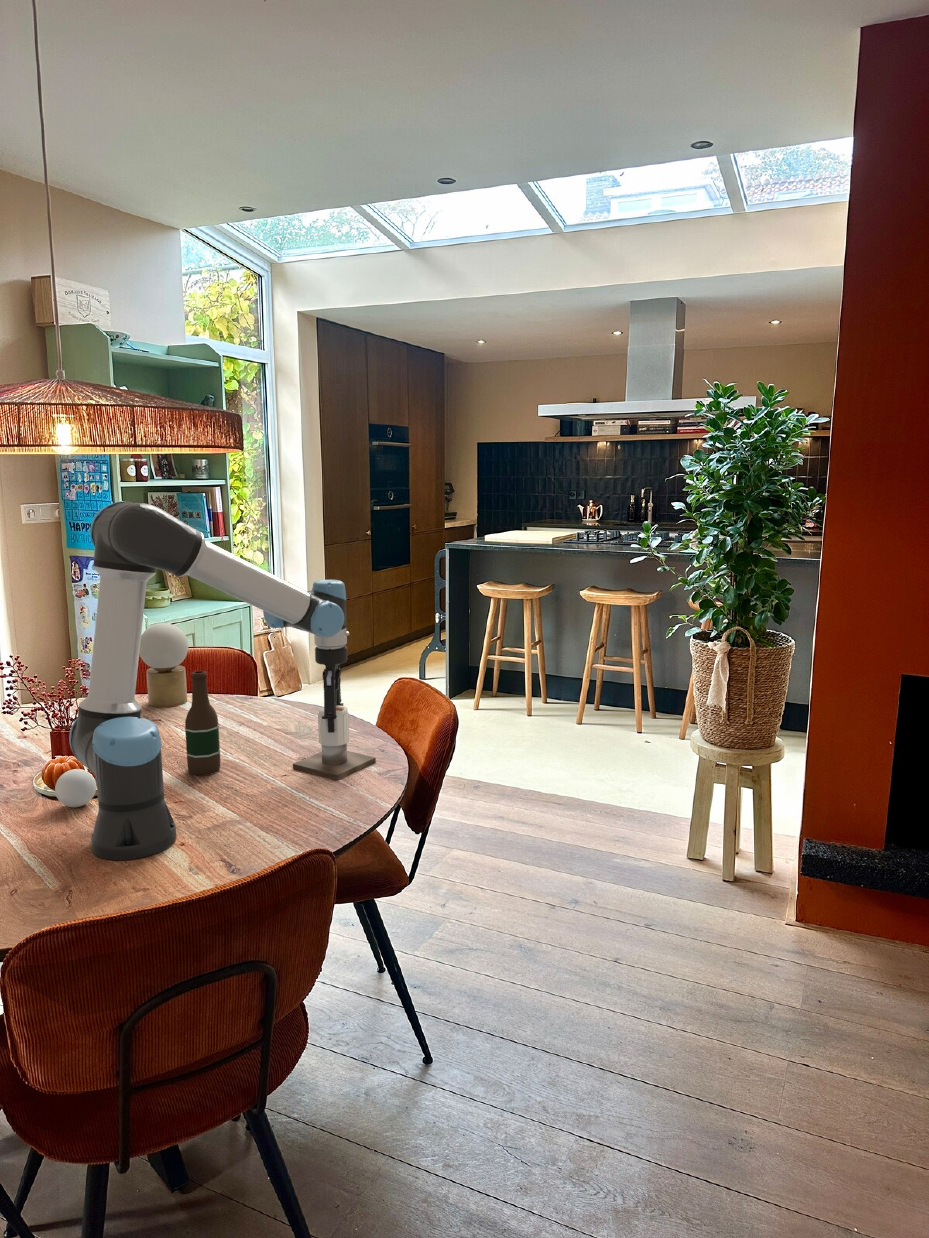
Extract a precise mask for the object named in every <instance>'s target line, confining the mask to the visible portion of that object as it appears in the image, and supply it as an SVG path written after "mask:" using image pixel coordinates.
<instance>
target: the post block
mask: <svg viewBox="0 0 929 1238" xmlns="http://www.w3.org/2000/svg"><path fill="white" fill-rule="evenodd" d="M320 745H321V744H320ZM347 745H348V742H347V743H346V744H344V745H339V746H324V745H321V751H320V752H317V753H315V754H313V755H311V756H308V757H306V758H303V759H301V760H298V761H296V762H293V763H292V769H293V770H298V771H302V772H305V773H309V774H313V775H317V776H321V777H325V778H329V779H333V780H336V781H338V780H341V779H343V778H345V777H347V776H349V775H351V774H353V773H355V772H358V771H359V770H362V769H365V768H366V767H368V766H371V765H373V764H375V763H376V762H377V761H376V760H377V757H375V756H371V755H366V754H363V753H362V754H361V753H359V752H358V753H357V752H353V751H349V750H348V746H347ZM342 777H343V778H342Z"/></svg>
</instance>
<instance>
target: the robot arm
mask: <svg viewBox="0 0 929 1238" xmlns="http://www.w3.org/2000/svg"><path fill="white" fill-rule="evenodd" d="M89 534H90V535H89V536H90V539H91V543H92V545H93V547H94V552H93V553H94V554H93V563H92V567H93V569H94V570H95V571H96V572H97V574H98V576H99V577H100V579H99V586H98V587H99V588H98V598H97V607H96V617H95V625H94V626H95V627H94V628H95V629H94V637H93V646H92V647H93V648H92V656H91V666H90V676H89V687H88V694H87V696H86V697H85V698H84V699H83V700H82V701H80V702H79V704H78V711H77V712H78V713H77V718H75V720H74V722H73V723H72V725H71V727H70V729H69V730H70V731H69V735H68V737H69V739H68V740H69V741H68V742H69V746H70V749H71V752H72V754H73V755H74V757H75V758H76V760H77V761H78V762H79V763H80V764H81V765H82V766H84V767H85V768H86V769H88V771H90V772H91V773H92V775H93V776H95V781H96V792H97V801H98V813H97V816H96V819H95V823H94V826H93V827H94V828H93V833H92V834H91V839H90V840H91V841H90V842H91V851H92V853H93V854H94V855H95V856H96V857H98V858H101V859H104V860H112V861H127V860H128V861H129V860H135V859H141V858H145V857H149V856H152V855H153V856H154V855H155V854H157V853H161V852H162V851H164V850H166V849H168V848H169V847H171V846H172V845H173V844H174V843H175V842H176V840H177V837H178V835H177V826H176V822H175V821H174V818H173V816H172V814H171V812H170V809H169V807H168V805H167V803H166V800H165V791H164V790H165V789H164V776H163V775H164V774H163V759H162V745H163V744H162V743H163V742H162V738H161V734H160V730H159V728H158V726H157V724H156V723H154V722H153V721H152V720H150V719H146V718H144V717H142V705H141V704H140V703H139V702H138V701H137V700H136V699H135V697H136V688H137V678H138V677H137V676H138V668H139V658H140V654H139V651H140V642H141V635H142V633H143V632H142V631H143V621H144V611H145V603H146V595H147V594H146V593H147V583H148V582H149V580H150V579H152V578H153V577H154V576H155V575H156V574H157V570H161V571H164V572H166V573H168V574H171V575H174V576H175V577H177V578H178V577H179V578H182V577H185V576H188V577H190V578H192V579H194V580H197V581H199V582H201V583H203V584H206V585H207V586H209V587H212V588H214V589H217V590H218V591H221V592H223V593H224V594H226V595H229V596H231V597H233V598H235V599H237V600H240V601H242V602H244V603H245V604H246V603H247V604H249V605H250V606H253V607H254V608H257V609H259V610H262V611H263V613H262V614H263V618H264V620H265V622H266V623H265V624H266V625H267V626H268V627H270V628H271V629H284V628H292V629H295V630H300V631H303V632H306V633H309V634H313V636H314V637H313V638H314V640H313V641H314V645H315V646H316V647H315V648H314V657H315V659H314V660H315V663H316V664H319V665H324V666H325V668H324V669H323V671H322V682H323V707H324V716H322V719H325V725H326V745H338V726H337V715H336V705H339V706H344V703H342V692H341V682H342V681H341V679H342V678H341V675H342V669H341V665H342V664H345V663H346V662H347V661H348V647H347V646H346V645H347V643H348V641H347V640H348V638H347V636H350V632H349V631H347V594H346V586H345V582H343V581H341V580H339V579H320V580H315V581H313V583H312V588H311V590H308V591H307V590H305V589H303V588H301V587H299V586H296V584H295V585H294V584H293V583H291V582H289V581H286V579H283V578H281V577H279V576H278V575H275V574H273V573H271V572H269V571H267V570H266V569H264V568H261V567H260V566H257V565H255V564H253V563H252V562H249V561H247V560H245V559H243V558H241V557H239V556H237V555H236V554H233V553H231V552H229V551H228V550H225V549H223V548H221V547H219V546H217V545H215V544H214V543H212V542H210V541H208V540H206V539H205V536H204V534H203V532H201V531H200V530H198V529H195V528H194V527H192V526H190V525H188V524H187V523H185V522H184V521H182V520H181V519H179V518H176V517H175V516H173V515H172V514H171V513H168V512H167V511H165V510H164V509H163V508H160V507H158V506H155V505H153V504H150V503H142V502H141V503H140V502H133V501H123V500H121V501H116V502H112V503H110V504H107V505H106V506H103V508H101V509H100V510H99V511H97V513H96V514H95V515H94V517H93V519H92V521H91V523H90V528H89ZM141 717H142V718H141Z"/></svg>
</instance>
